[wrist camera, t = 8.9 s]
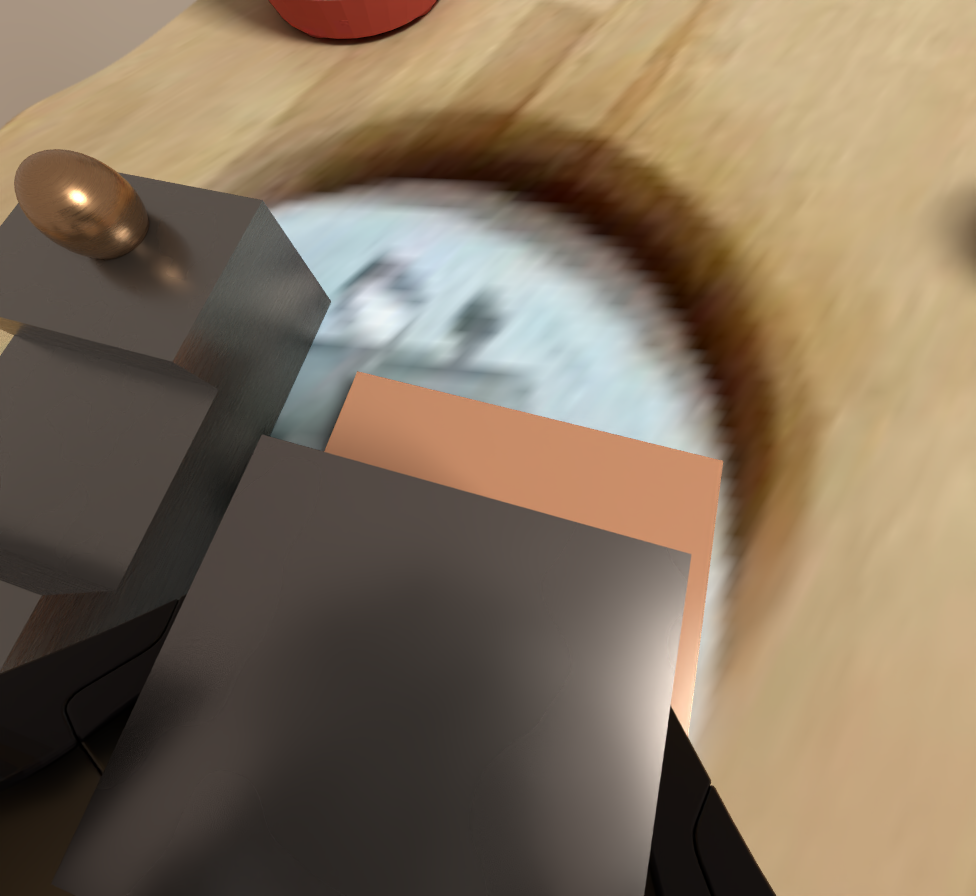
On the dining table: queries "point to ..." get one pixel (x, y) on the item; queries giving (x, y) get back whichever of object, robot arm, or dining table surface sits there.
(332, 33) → the citrus juicer
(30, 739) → the robot arm
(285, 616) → the tan wooden block
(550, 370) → the dining table surface
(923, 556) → the dining table surface
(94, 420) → the body
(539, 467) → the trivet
